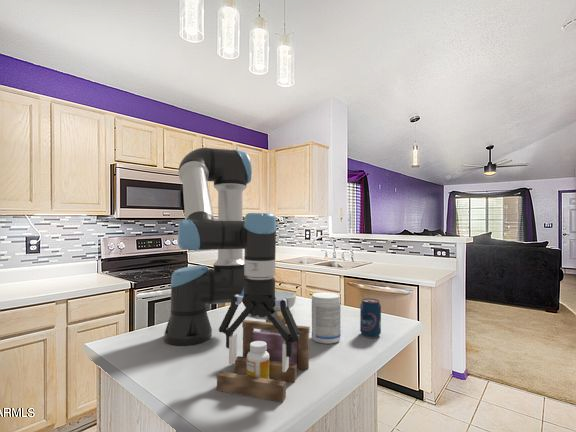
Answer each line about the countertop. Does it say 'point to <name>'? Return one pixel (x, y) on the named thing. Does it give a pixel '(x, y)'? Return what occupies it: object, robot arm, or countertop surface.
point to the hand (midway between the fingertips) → (258, 365)
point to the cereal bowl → (285, 294)
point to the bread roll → (279, 317)
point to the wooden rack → (274, 347)
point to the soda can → (370, 318)
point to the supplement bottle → (258, 360)
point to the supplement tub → (326, 317)
